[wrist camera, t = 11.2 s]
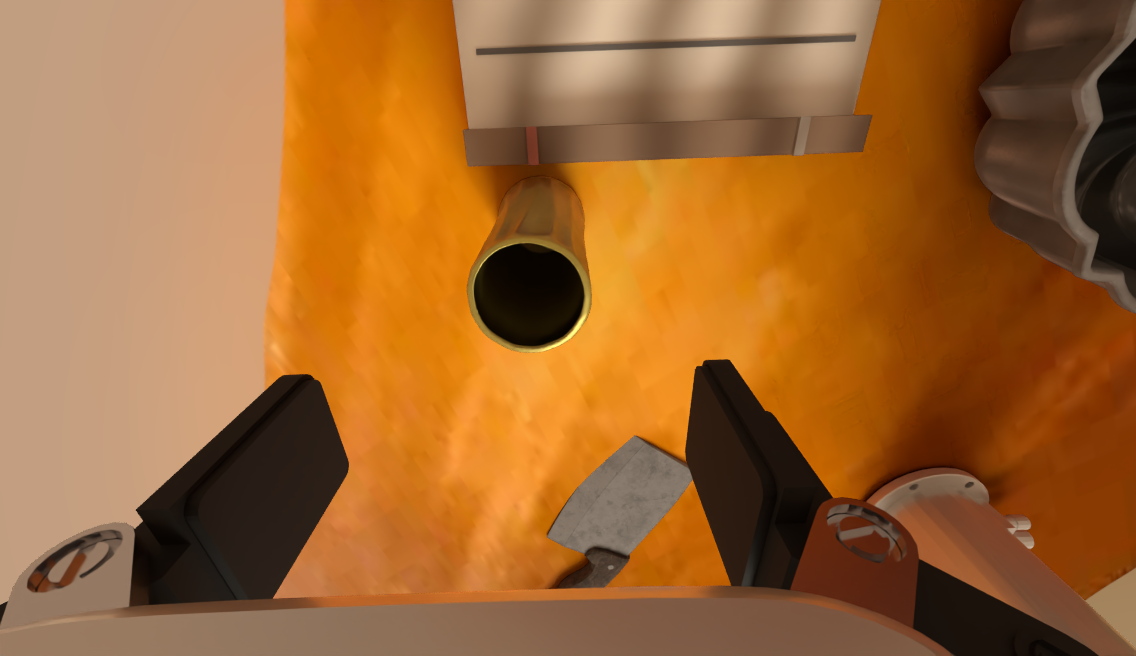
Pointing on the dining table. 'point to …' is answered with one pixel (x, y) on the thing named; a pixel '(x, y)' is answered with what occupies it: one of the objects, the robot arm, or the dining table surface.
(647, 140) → the fence board
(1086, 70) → the bundt pan
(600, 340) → the dining table surface
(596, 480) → the cleaver
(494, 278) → the vase
